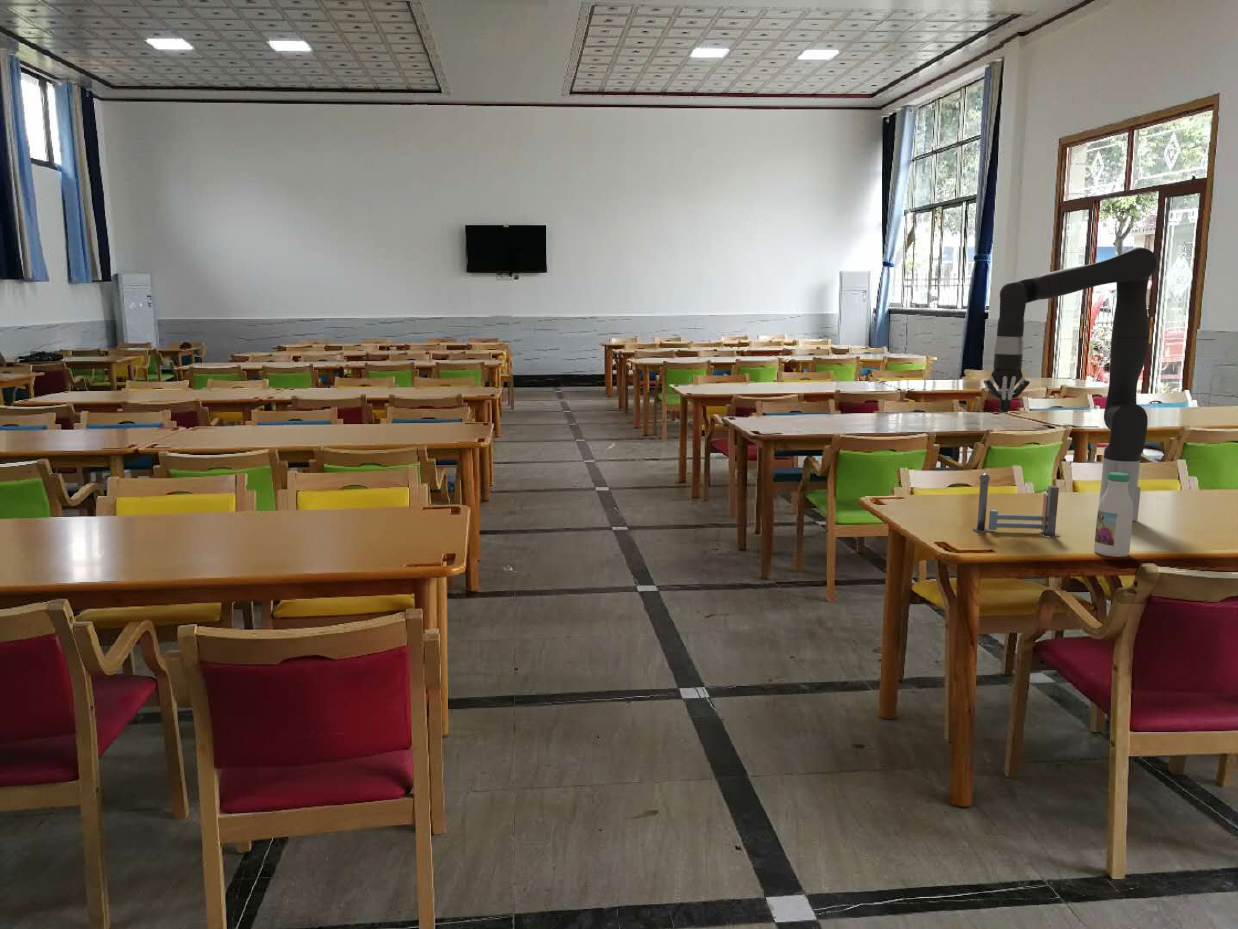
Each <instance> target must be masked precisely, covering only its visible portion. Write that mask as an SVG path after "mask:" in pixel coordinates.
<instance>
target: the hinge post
mask: <svg viewBox="0 0 1238 929" xmlns="http://www.w3.org/2000/svg"><path fill="white" fill-rule="evenodd" d="M978 478H979V482H980V483H979V495H978V496H979V497H978V506H977V507H978V509H977V510H978V511H977V521H976V527H974V528H972V531H973V532H975V533H981V532H987V533H989V531H990V529H989V528H986V517H987V505H988V494H989V493H988V491H989V482H990V480H991V479H990V478H991V477H990V475H989V474H987V473H982V474H980V476H979V477H978ZM981 534H982V533H981Z"/></svg>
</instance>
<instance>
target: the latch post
mask: <svg viewBox="0 0 1238 929" xmlns="http://www.w3.org/2000/svg"><path fill="white" fill-rule="evenodd" d="M1047 486H1048V488H1047V493H1048V497H1047V509H1046V520H1045V532H1043V531H1039V533H1038V534H1040V535H1041V534H1042V535H1041V536H1043V535H1044V536H1049V537H1048V538H1061V536H1060V534H1058V533H1057V532H1056V528H1057V527H1056V526H1057V515H1058V514H1057V513H1058V504H1059V492H1060V487H1059V486H1058V485H1047ZM1044 536H1043V537H1044Z"/></svg>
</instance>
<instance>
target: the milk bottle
mask: <svg viewBox="0 0 1238 929" xmlns="http://www.w3.org/2000/svg"><path fill="white" fill-rule="evenodd" d="M1129 479H1130V475H1129V474H1126V473H1120V472H1111V473H1109V474H1108V482H1109V484H1108V487H1107V490H1106V492H1105V493H1104V495H1103V497H1102V498H1101V500H1100V499H1099V500H1100V503H1099V502H1098V508H1097V515H1096V525H1095V536H1094V545H1093V549H1094V552H1095V553H1096V554H1098V555H1102V556H1106V557H1107V556H1108V557H1112V558H1113V557H1114V558H1123V557H1128V556H1129V555H1130V551H1131V550H1130V549H1131V539H1132V529H1133V522H1134V521H1133V503H1132V500H1131V497H1130V495H1129V492H1128V483H1129Z"/></svg>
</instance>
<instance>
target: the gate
mask: <svg viewBox="0 0 1238 929" xmlns="http://www.w3.org/2000/svg"><path fill="white" fill-rule="evenodd" d="M1047 497H1048V492H1047V493H1043V499H1042V500H1043V501H1042V511H1041V515H1037V514H1036V515H1035V514H1034V515H1031V514H1028V515H1027V514H1003V513H1001V514H998V513H999V511H998V510H997V509H989V518H988V530H989V531H997V528H1002V529H1032V530H1033V529H1034V530H1035V529H1037V530H1040V531H1041V532H1045V520H1046V509H1047ZM998 520H1000V522H999V521H998ZM1001 520H1003V521H1005V520H1006V521H1008V520H1009V521H1035V522H1040V523H1034V522H1033V523H1030V522H1029V523H1028V522H1002V521H1001Z"/></svg>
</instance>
